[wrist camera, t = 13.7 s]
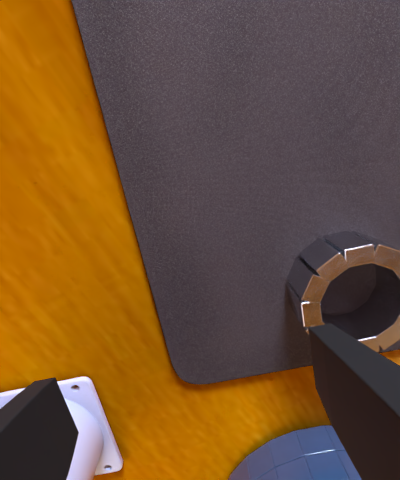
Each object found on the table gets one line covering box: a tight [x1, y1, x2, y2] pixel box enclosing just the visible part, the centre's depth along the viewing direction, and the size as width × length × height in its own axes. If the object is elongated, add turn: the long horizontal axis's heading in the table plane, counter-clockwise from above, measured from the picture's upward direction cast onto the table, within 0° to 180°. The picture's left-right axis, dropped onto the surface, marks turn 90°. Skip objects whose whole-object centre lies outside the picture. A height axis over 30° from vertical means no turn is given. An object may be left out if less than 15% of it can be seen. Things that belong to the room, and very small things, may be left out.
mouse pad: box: [71, 0, 400, 384], centre depth 16 cm, size 25×21×1 cm
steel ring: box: [286, 231, 400, 352], centre depth 16 cm, size 6×6×3 cm
